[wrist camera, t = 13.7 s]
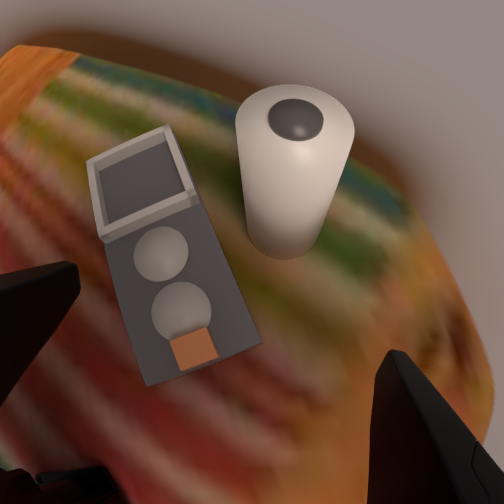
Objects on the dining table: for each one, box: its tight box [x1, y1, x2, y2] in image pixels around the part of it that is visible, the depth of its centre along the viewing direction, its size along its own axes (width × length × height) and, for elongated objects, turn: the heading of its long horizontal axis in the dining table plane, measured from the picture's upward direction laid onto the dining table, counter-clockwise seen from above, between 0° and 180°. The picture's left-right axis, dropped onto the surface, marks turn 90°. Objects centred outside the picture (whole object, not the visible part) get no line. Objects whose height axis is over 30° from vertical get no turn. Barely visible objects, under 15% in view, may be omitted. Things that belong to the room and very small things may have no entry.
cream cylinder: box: [235, 84, 354, 260], centre depth 15 cm, size 4×4×9 cm
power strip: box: [86, 124, 262, 386], centre depth 18 cm, size 15×6×2 cm, turn 23°
